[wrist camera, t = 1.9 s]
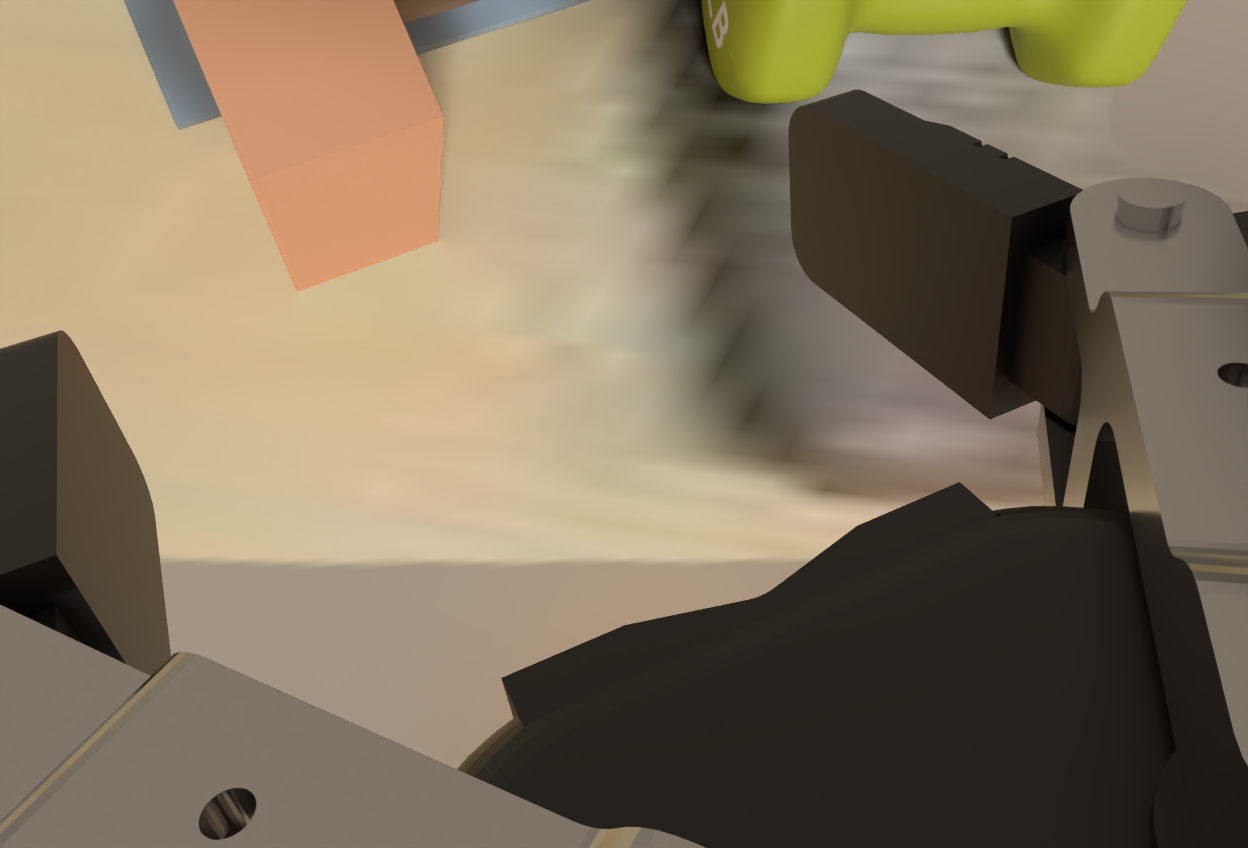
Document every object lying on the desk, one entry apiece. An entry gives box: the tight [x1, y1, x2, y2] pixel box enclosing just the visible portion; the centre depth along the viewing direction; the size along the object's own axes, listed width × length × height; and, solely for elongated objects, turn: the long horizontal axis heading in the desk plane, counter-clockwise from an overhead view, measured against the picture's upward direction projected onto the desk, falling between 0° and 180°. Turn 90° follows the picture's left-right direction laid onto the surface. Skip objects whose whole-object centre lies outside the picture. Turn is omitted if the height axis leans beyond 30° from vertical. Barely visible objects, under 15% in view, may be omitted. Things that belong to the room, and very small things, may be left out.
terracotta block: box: [173, 0, 444, 291], centre depth 31 cm, size 5×5×10 cm
